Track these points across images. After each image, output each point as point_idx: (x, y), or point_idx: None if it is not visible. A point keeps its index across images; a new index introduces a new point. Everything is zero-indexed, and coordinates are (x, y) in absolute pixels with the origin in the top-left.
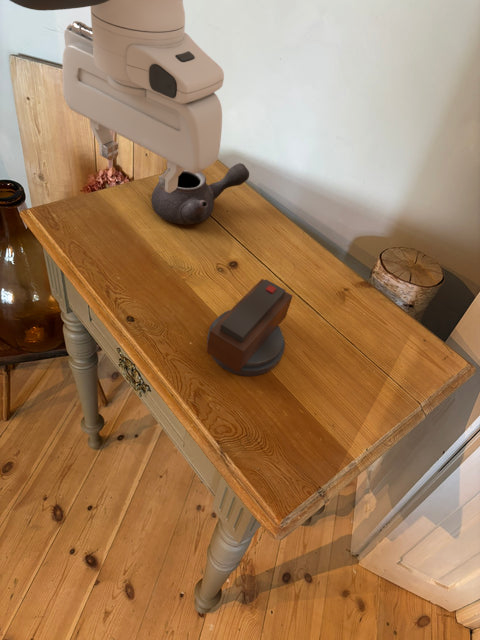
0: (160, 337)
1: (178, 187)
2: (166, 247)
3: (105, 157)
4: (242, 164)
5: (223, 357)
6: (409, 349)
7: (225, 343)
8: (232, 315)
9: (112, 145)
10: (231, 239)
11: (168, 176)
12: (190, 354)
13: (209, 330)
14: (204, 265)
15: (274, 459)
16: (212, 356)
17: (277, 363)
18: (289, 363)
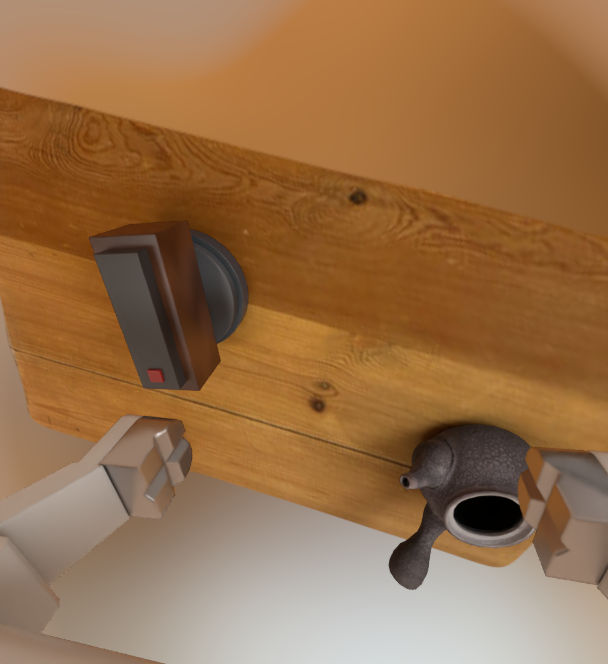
0: (288, 204)
1: (479, 494)
2: (431, 375)
3: (565, 451)
4: (407, 588)
5: (148, 225)
6: (75, 409)
7: (127, 233)
8: (143, 284)
9: (564, 549)
10: (357, 445)
11: (55, 483)
12: (228, 212)
13: (231, 267)
14: (350, 379)
15: (21, 150)
16: (200, 233)
17: None
18: None
